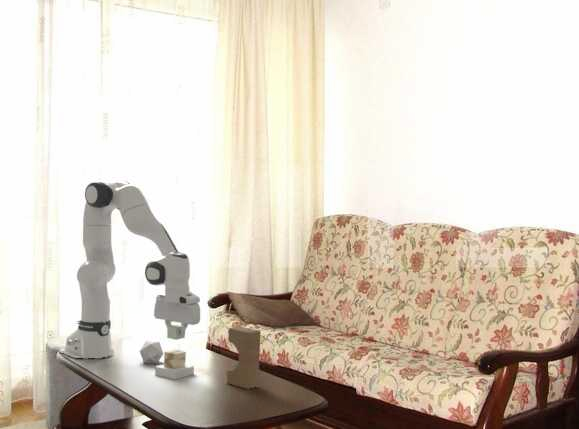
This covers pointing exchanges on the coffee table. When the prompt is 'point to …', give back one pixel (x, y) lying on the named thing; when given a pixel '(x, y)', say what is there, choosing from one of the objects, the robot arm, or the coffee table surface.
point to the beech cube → (174, 359)
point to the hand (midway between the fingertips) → (176, 333)
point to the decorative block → (245, 357)
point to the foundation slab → (174, 371)
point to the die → (151, 352)
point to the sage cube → (174, 332)
